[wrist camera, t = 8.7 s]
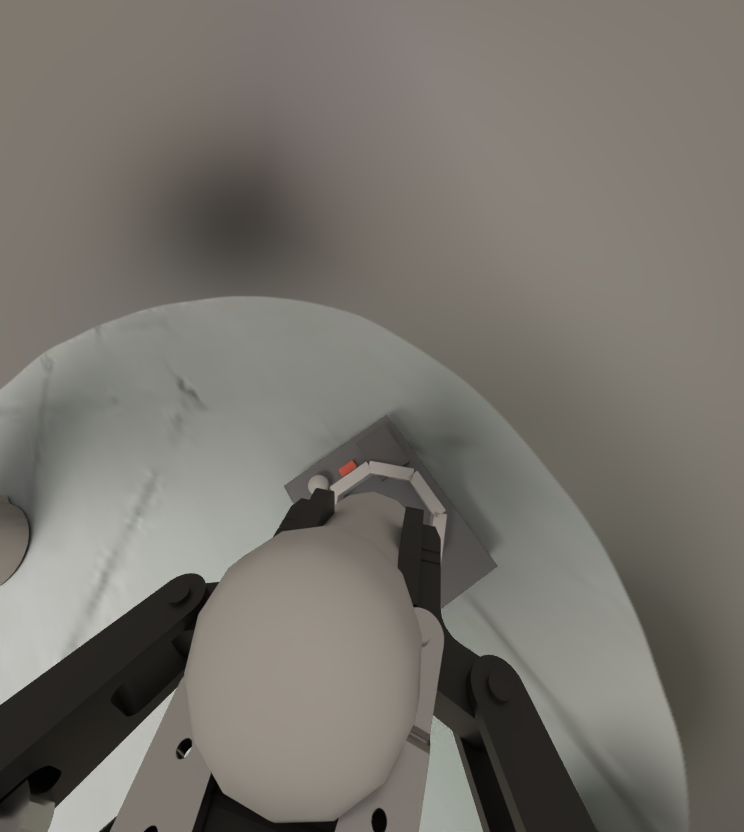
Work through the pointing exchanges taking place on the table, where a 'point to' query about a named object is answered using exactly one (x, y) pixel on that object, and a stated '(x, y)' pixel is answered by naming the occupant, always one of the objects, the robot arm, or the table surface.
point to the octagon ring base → (400, 497)
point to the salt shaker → (308, 666)
